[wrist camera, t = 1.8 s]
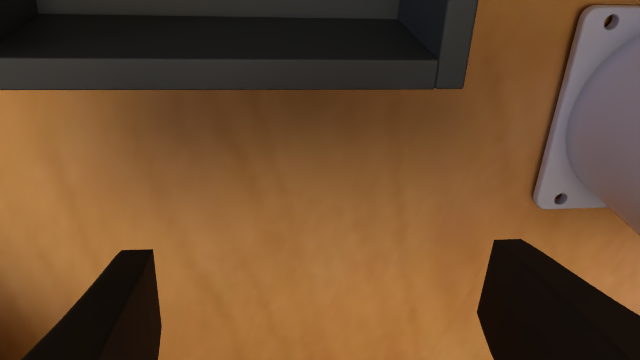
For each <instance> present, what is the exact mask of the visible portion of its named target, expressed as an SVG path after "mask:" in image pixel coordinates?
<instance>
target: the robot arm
mask: <svg viewBox="0 0 640 360" xmlns="http://www.w3.org/2000/svg"><path fill="white" fill-rule="evenodd" d="M609 15H612V21H611V23H610V24H609V25H608V26H606V27H604V21H605V20H606V18H607V17H608V16H609ZM561 193H562V195H561V197H560V198H558V199H555V198H556V196H557V195H559V194H561ZM533 200H534V202H535V203H536V205H537V206H538V207H540V208H541V209H576V208H610V209H611V210H612V211H613V212H615V213H616V214H617V215H618V216H619V217H620V218H621V219H622V220H623V221H624V222H625V223H626V224H627V225H629V226H630V227H631V228H632V229H633V230H634V231H635V232H636V233H637V234H638V235H639V236H640V6H636V5H592V6H590V7H588V8H586V9H585V10H584V11H583V12H582V13H581V16H580V18H579V20H578V24H577V28H576V32H575V36H574V40H573V44H572V48H571V51H570V55H569V59H568V63H567V67H566V71H565V75H564V79H563V82H562V86H561V90H560V94H559V98H558V102H557V106H556V110H555V113H554V117H553V121H552V125H551V129H550V133H549V137H548V140H547V144H546V148H545V152H544V156H543V160H542V164H541V168H540V171H539V175H538V179H537V183H536V187H535V191H534V195H533ZM477 314H478V317H479V320H480V323H481V326H482V329H483V332H484V335H485V338H486V341H487V343H488V346H489V349H490V352H491V354H492V356H493V358H494V360H640V316H639V315H638V314H636V313H634V312H633V311H631V310H629V309H628V308H626V307H624V306H623V305H621V304H620V303H618V302H617V301H615V300H613V299H612V298H610V297H609V296H607V295H606V294H604V293H603V292H601V291H599V290H598V289H596V288H595V287H593V286H592V285H590V284H589V283H587V282H586V281H584V280H583V279H581V278H580V277H578V276H577V275H575V274H574V273H573V272H571V271H570V270H568V269H567V268H565V267H564V266H562V265H561V264H559V263H558V262H556V261H555V260H553V259H552V258H550V257H549V256H547V255H546V254H544V253H543V252H541V251H540V250H538V249H537V248H535V247H533V246H532V245H530V244H529V243H527V242H525V241H523V240H522V239H507V240H494V243H493V247H492V251H491V255H490V259H489V264H488V268H487V272H486V276H485V280H484V285H483V289H482V293H481V297H480V301H479V306H478V310H477ZM161 327H162V326H161V317H160V308H159V299H158V290H157V281H156V273H155V264H154V255H153V249H151V250H122V251H120V252H119V253H118V254H117V255H116V256H115V258H114V259H113V260H112V261H111V262H110V264H109V265H108V266H107V267H106V269H105V270H104V271H103V272H102V273H101V275H100V276H99V277H98V278H97V279H96V281H95V282H94V283H93V284H92V285H91V286H90V288H89V289H88V290H87V291H86V292H85V294H84V295H83V296H82V297H81V298H80V299H79V300H78V301H77V302H76V304H75V305H74V306H73V307H72V308H71V309H70V310H69V311H68V312H67V313H66V315H65V316H64V317H63V318H62V319H61V320H60V321H59V322H58V323H57V324H56V325H55V326H54V327H53V328H52V329H51V330H50V331H49V332H48V333H47V334H46V335H45V336H44V337H43V338H42V339H41V340H40V341H39V342H38V343H37V344H36V345H35V346H34V347H33V348H32V349H31V350H30V351H29V352H28V353H27V354H26V355H25V356H24V357H23V358H22V359H21V360H158V355H159V346H160V337H161Z"/></svg>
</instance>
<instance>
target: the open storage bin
mask: <svg viewBox="0 0 640 360" xmlns="http://www.w3.org/2000/svg"><path fill="white" fill-rule="evenodd" d="M477 5H478V0H0V90H400V89H434V88H436V89H462V88H463V86H464V81H465V75H466V69H467V63H468V57H469V51H470V46H471V40H472V34H473V28H474V22H475V16H476V11H477Z"/></svg>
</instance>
